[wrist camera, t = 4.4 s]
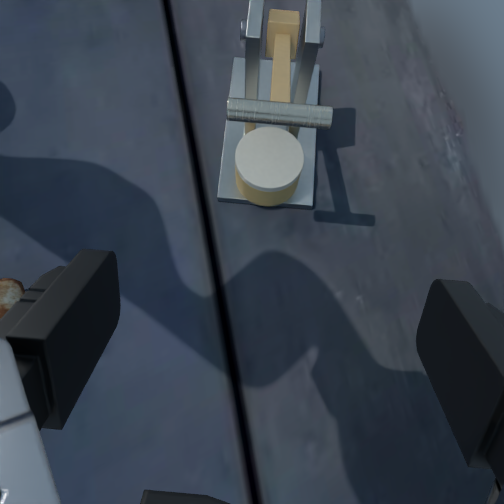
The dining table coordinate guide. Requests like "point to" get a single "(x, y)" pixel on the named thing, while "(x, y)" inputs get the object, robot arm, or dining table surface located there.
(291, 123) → the wood and metal t-shape
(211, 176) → the dining table surface
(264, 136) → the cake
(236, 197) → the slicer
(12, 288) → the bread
